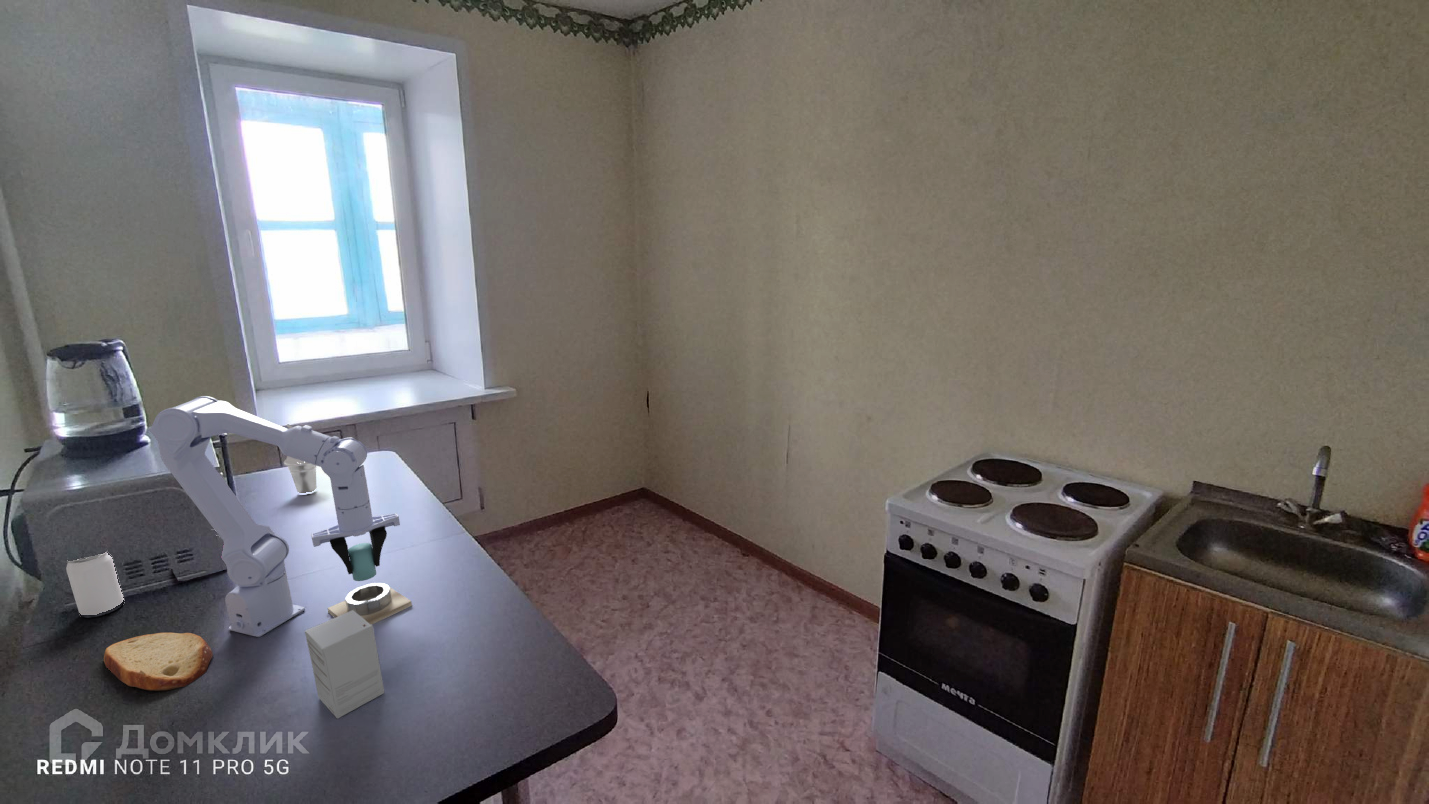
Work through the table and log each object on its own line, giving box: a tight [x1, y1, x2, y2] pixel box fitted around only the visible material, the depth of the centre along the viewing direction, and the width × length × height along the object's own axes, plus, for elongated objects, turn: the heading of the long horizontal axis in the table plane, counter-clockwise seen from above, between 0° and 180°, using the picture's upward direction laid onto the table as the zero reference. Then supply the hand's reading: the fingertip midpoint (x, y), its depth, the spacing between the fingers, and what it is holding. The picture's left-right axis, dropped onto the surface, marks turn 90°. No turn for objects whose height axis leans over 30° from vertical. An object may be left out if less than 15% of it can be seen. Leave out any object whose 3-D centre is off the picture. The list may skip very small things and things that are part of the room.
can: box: [65, 550, 125, 615], centre depth 121 cm, size 6×6×12 cm
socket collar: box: [344, 582, 392, 616], centre depth 122 cm, size 8×8×2 cm
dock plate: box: [327, 586, 413, 626], centre depth 122 cm, size 11×11×1 cm
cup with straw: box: [283, 423, 318, 493], centre depth 177 cm, size 8×9×20 cm
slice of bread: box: [103, 632, 214, 691], centre depth 106 cm, size 18×18×4 cm
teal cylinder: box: [348, 542, 377, 582], centre depth 120 cm, size 4×4×6 cm
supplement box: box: [304, 610, 385, 719], centre depth 97 cm, size 7×7×13 cm
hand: (363, 568), depth 120 cm, fingers closed on teal cylinder, 4 cm apart
